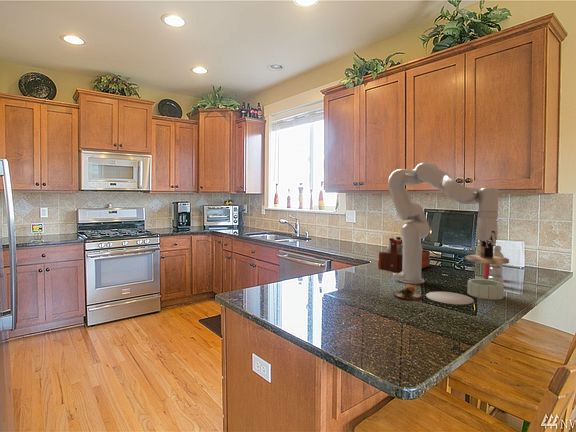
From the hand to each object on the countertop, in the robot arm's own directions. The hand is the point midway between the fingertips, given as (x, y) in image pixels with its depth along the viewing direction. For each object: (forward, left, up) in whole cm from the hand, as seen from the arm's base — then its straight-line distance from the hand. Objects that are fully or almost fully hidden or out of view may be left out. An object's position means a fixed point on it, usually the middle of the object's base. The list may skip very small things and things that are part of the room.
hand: (486, 255), depth 154 cm
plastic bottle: (+14, +19, -19) cm, 30 cm away
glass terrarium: (-36, -6, -19) cm, 41 cm away
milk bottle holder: (-20, +61, -19) cm, 67 cm away
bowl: (0, 0, -18) cm, 18 cm away
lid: (0, 0, -2) cm, 2 cm away
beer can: (+19, +34, -19) cm, 43 cm away
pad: (-18, -6, -18) cm, 26 cm away
